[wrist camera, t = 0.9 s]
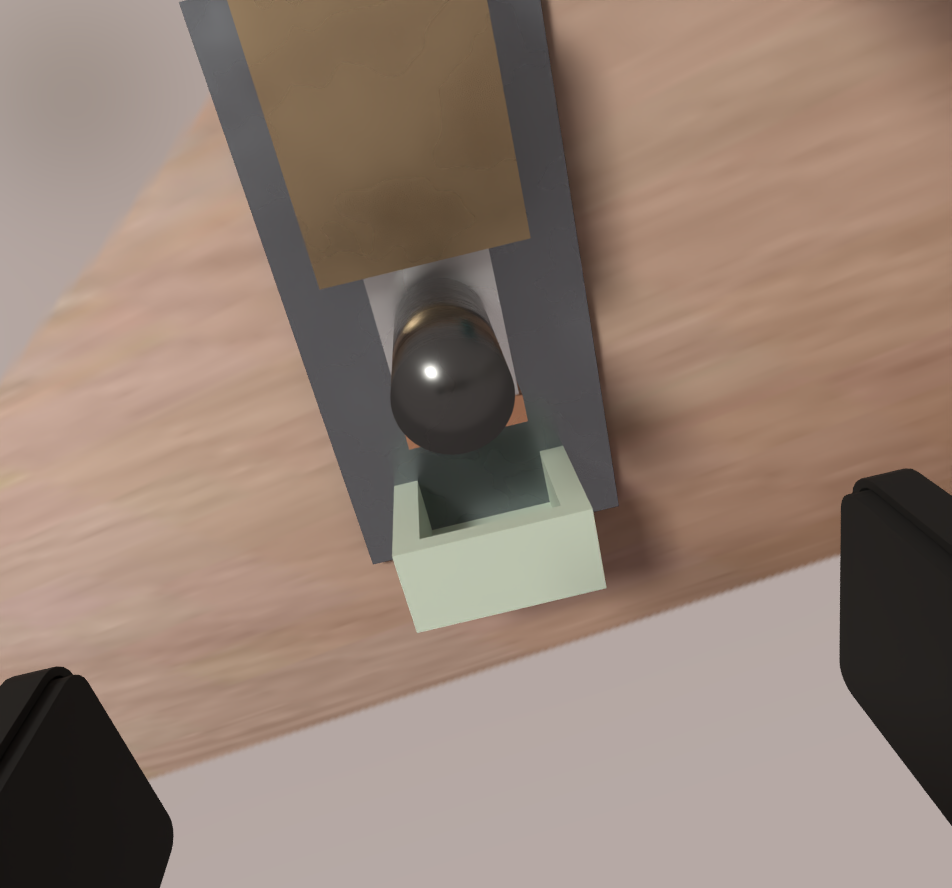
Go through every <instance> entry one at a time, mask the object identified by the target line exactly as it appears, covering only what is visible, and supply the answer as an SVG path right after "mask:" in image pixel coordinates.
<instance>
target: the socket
mask: <svg viewBox="0 0 952 888" xmlns="http://www.w3.org/2000/svg"><path fill="white" fill-rule="evenodd" d="M540 456H541V461H542V466H543V471H544V476H545V481H546V486H547V490H548V495H549V500H550V502H548V503H544V504H540V505H535V506H531V507H527V508H523V509H519V510H514V511H510V512H506V513H502V514H498V515H493V516H489V517H485V518H481V519H477V520H472V521H468V522H464V523H460V524H456V525H452V526H447V527H443V528H439V529H435V530H432V528H431V525H430V521H429V518H428V514H427V511H426V508H425V504H424V501H423V497H422V494H421V491H420V487H419V484H418V480H417V481H413V482H409V483H405V484H401V485H397V486H394V508H393V542H392V558H393V561H394V564H395V567H396V570H397V573H398V576H399V579H400V582H401V585H402V588H403V591H404V594H405V597H406V600H407V604H408V607H409V610H410V613H411V616H412V619H413V622H414V625H415V628H416V631H417V633H419V632H424V631H428V630H432V629H436V628H440V627H445V626H449V625H453V624H457V623H462V622H466V621H470V620H474V619H478V618H483V617H487V616H491V615H495V614H500V613H504V612H508V611H512V610H517V609H521V608H525V607H529V606H533V605H538V604H542V603H546V602H550V601H555V600H559V599H563V598H567V597H572V596H576V595H580V594H584V593H588V592H593V591H597V590H601V589H605V588H606V583H605V577H604V571H603V566H602V560H601V554H600V548H599V543H598V537H597V531H596V525H595V520H594V514H593V509H592V507H591V504H590V502H589V500H588V498H587V496H586V494H585V492H584V489H583V487H582V485H581V483H580V481H579V479H578V477H577V474H576V472H575V470H574V468H573V466H572V464H571V462H570V459H569V457H568V455H567V453H566V451H565V449H564V447H563V446H559V447H555V448H551V449H547V450H543V451H540Z"/></svg>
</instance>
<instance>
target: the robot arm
mask: <svg viewBox="0 0 952 888" xmlns="http://www.w3.org/2000/svg"><path fill="white" fill-rule="evenodd" d="M840 566H841V567H840V570H841V572H840V668H841V672H842V676H843V679H844V681H845V683H846V685H847V687H848V689H849V691H850V692H851V694H852V695H853V697H854V698H855V699H856V700H857V702H858V703H859V704H860V706H861V707H862V708H863V710H864V711H865V712H866V714H867V715H868V716H869V717H870V719H871V720H872V722H873V723H874V724H875V726H876V727H877V728H878V729H879V731H880V732H881V733H882V735H883V736H884V737H885V739H886V740H887V741H888V742H889V744H890V745H891V747H892V748H893V749H894V750H895V752H896V753H897V754H898V756H899V757H900V758H901V760H902V761H903V762H904V764H905V765H906V766H907V768H908V769H909V770H910V772H911V773H912V774H913V775H914V777H915V778H916V779H917V781H918V782H919V783H920V784H921V786H922V787H923V789H924V790H925V791H926V793H927V794H928V795H929V796H930V798H931V799H932V800H933V802H934V803H935V804H936V806H937V807H938V808H939V809H940V811H941V812H942V814H943V815H944V816H945V817H946V819H947V820H948V821H949V823H950V824H951V825H952V496H951V495H950V494H948V493H947V492H946V491H944V490H943V489H941V488H940V487H939V486H937V485H936V484H934V483H933V482H932V481H930V480H929V479H927V478H926V477H924V476H923V475H922V474H920V473H919V472H917V471H915V470H913V469H901V470H897V471H892V472H888V473H884V474H879V475H875V476H871V477H867V478H862V479H860V480H858V481H857V482H856V483H855V485H854V487H853V493H852V494H848V495H846V496H844V498H843V500H842V503H841V562H840ZM172 845H173V826H172V822H171V819H170V817H169V815H168V813H167V812H166V810H165V808H164V807H163V805H162V803H161V802H160V800H159V798H158V797H157V795H156V794H155V792H154V790H153V789H152V787H151V785H150V784H149V782H148V780H147V779H146V777H145V775H144V774H143V772H142V770H141V769H140V767H139V765H138V764H137V762H136V760H135V759H134V757H133V756H132V754H131V752H130V751H129V749H128V747H127V746H126V744H125V742H124V741H123V739H122V737H121V736H120V734H119V732H118V731H117V729H116V727H115V726H114V724H113V723H112V721H111V719H110V718H109V716H108V714H107V713H106V711H105V709H104V708H103V706H102V704H101V703H100V701H99V699H98V698H97V696H96V695H95V693H94V691H93V690H92V688H91V686H90V685H89V683H88V682H87V680H86V679H85V678H84V677H82V676H80V675H73V674H72V673H71V672H70V671H69V670H68V669H66V668H64V667H52V668H48V669H44V670H39V671H35V672H31V673H26V674H22V675H18V676H14V677H11V678H9V679H7V680H5V681H4V683H3V684H2V685H1V686H0V888H160V885H161V882H162V879H163V876H164V873H165V869H166V866H167V863H168V860H169V856H170V853H171V850H172Z"/></svg>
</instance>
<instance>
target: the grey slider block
mask: <svg viewBox="0 0 952 888" xmlns="http://www.w3.org/2000/svg"><path fill="white" fill-rule="evenodd" d="M363 281H364V284H365V287H366V291H367V294H368V298H369V301H370V305H371V308H372V311H373V315H374V318H375V322H376V325H377V329H378V332H379V335H380V339H381V342H382V346H383V349H384V353H385V356H386V360H387V363H388V366H389V370H390V373H391V392H390V402H391V409H392V413H393V416H394V418H395V421H396V423H397V425H398V426H399V428H400V429H401V431H402V432H403V433H404V434H405V436H406V440H407V443H408V447H409V450H410V449H414V448H418V447H422V448H424V449H426V450H428V451H432V452H435V453H440V454H449V455H454V454H463V453H468V452H471V451H475V450H477V449H479V448H481V447H483V446H485V445H487V444H488V443H490V442H491V441H492V440H494V439H495V438H496V437H497V436H498V435H499V434H500V433H501V432H502V430H503V429H504V428H505V427H506V426H510V425H514V424H518V423H523V422H527V421H528V419H527V414H526V409H525V405H524V400H523V395H522V392H521V390H520V388H519V385H518V383H517V380H516V377H515V372H514V367H513V363H512V358H511V353H510V348H509V344H508V339H507V334H506V329H505V325H504V320H503V315H502V310H501V305H500V301H499V296H498V291H497V286H496V282H495V277H494V272H493V267H492V263H491V258H490V253H489V249H484V250H480V251H476V252H472V253H468V254H464V255H460V256H456V257H452V258H447V259H443V260H439V261H435V262H431V263H427V264H423V265H419V266H415V267H411V268H406V269H402V270H398V271H394V272H390V273H386V274H382V275H378V276H374V277H369V278H365V279H363Z"/></svg>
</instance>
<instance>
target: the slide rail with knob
mask: <svg viewBox="0 0 952 888" xmlns="http://www.w3.org/2000/svg"><path fill="white" fill-rule="evenodd" d="M179 4H180V7H181V10H182V13H183V16H184V19H185V22H186V24H187V27H188V30H189V33H190V36H191V39H192V42H193V45H194V48H195V50H196V53H197V56H198V59H199V62H200V65H201V68H202V70H203V74H204V76H205V79H206V82H207V85H208V88H209V91H210V94H211V97H212V100H213V103H214V105H215V108H216V111H217V114H218V117H219V120H220V123H221V126H222V129H223V132H224V134H225V137H226V140H227V143H228V146H229V149H230V152H231V155H232V158H233V160H234V163H235V166H236V169H237V172H238V175H239V178H240V181H241V184H242V186H243V189H244V192H245V195H246V198H247V201H248V204H249V207H250V210H251V213H252V215H253V218H254V221H255V224H256V227H257V230H258V233H259V236H260V239H261V241H262V244H263V247H264V250H265V253H266V256H267V259H268V262H269V265H270V267H271V270H272V273H273V276H274V279H275V282H276V285H277V288H278V291H279V294H280V296H281V299H282V302H283V305H284V308H285V311H286V314H287V317H288V320H289V322H290V325H291V328H292V331H293V334H294V337H295V340H296V343H297V346H298V348H299V351H300V354H301V357H302V360H303V363H304V366H305V369H306V372H307V375H308V377H309V380H310V383H311V386H312V389H313V392H314V395H315V398H316V401H317V403H318V406H319V409H320V412H321V415H322V418H323V421H324V424H325V427H326V429H327V432H328V435H329V438H330V441H331V444H332V447H333V450H334V453H335V456H336V458H337V461H338V464H339V467H340V470H341V473H342V476H343V479H344V482H345V484H346V487H347V490H348V493H349V496H350V499H351V502H352V505H353V508H354V510H355V513H356V516H357V519H358V522H359V525H360V528H361V531H362V534H363V537H364V539H365V542H366V545H367V548H368V551H369V554H370V557H371V560H372V563H373V564H377V563H381V562H385V561H389V560H393V558H392V542H393V508H394V486H397V485H401V484H405V483H409V482H413V481H417V480H418V484H419V487H420V491H421V494H422V497H423V501H424V504H425V508H426V511H427V514H428V518H429V521H430V525H431V528H432V530H435V529H439V528H443V527H447V526H452V525H456V524H460V523H464V522H468V521H472V520H477V519H481V518H485V517H489V516H493V515H498V514H502V513H506V512H510V511H514V510H519V509H523V508H527V507H531V506H535V505H540V504H544V503H548V502H550V500H549V495H548V490H547V486H546V481H545V476H544V471H543V466H542V461H541V456H540V451H543V450H547V449H551V448H555V447H559V446H563V447H564V449H565V451H566V453H567V455H568V457H569V459H570V462H571V464H572V466H573V468H574V470H575V472H576V474H577V477H578V479H579V481H580V483H581V485H582V487H583V489H584V492H585V494H586V496H587V498H588V500H589V502H590V504H591V507H592V509H593V512H595V511H600V510H604V509H608V508H612V507H616V506H619V504H618V498H617V491H616V485H615V478H614V472H613V465H612V459H611V452H610V446H609V440H608V433H607V427H606V420H605V414H604V407H603V401H602V394H601V388H600V382H599V375H598V369H597V362H596V356H595V349H594V343H593V336H592V330H591V323H590V317H589V311H588V304H587V298H586V291H585V285H584V278H583V272H582V265H581V259H580V253H579V246H578V240H577V233H576V227H575V220H574V214H573V207H572V201H571V195H570V188H569V182H568V175H567V169H566V162H565V156H564V149H563V143H562V137H561V130H560V124H559V117H558V111H557V104H556V98H555V91H554V85H553V78H552V72H551V66H550V59H549V53H548V46H547V40H546V33H545V27H544V20H543V14H542V8H541V1H540V0H186V1H182V2H179ZM484 249H489V253H490V258H491V263H492V267H493V272H494V277H495V282H496V286H497V291H498V296H499V301H500V305H501V310H502V315H503V320H504V325H505V329H506V334H507V339H508V344H509V348H510V353H511V358H512V363H513V367H514V372H515V377H516V380H517V383H518V385H519V388H520V390H521V392H522V395H523V400H524V405H525V409H526V414H527V419H528V421H527V422H523V423H518V424H514V425H510V426H506V427H505V428H504V429H503V430H502V432H501V433H500V434H499V435H498V436H497V437H496V438H495V439H494V440H492V441H491V442H490V443H488V444H487V445H485V446H483V447H481V448H479V449H477V450H475V451H471V452H468V453H463V454H454V455H449V454H440V453H435V452H432V451H428V450H426V449H424V448H422V447H418V448H414V449H410V450H409V447H408V443H407V440H406V436H405V434H404V433H403V432H402V431H401V429H400V428H399V426H398V425H397V423H396V421H395V418H394V416H393V413H392V409H391V402H390V392H391V373H390V370H389V366H388V363H387V360H386V356H385V353H384V349H383V346H382V342H381V339H380V335H379V332H378V329H377V325H376V322H375V318H374V315H373V311H372V308H371V305H370V301H369V298H368V294H367V291H366V287H365V284H364V281H363V279H365V278H369V277H374V276H378V275H382V274H386V273H390V272H394V271H398V270H402V269H406V268H411V267H415V266H419V265H423V264H427V263H431V262H435V261H439V260H443V259H447V258H452V257H456V256H460V255H464V254H468V253H472V252H476V251H480V250H484Z"/></svg>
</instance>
